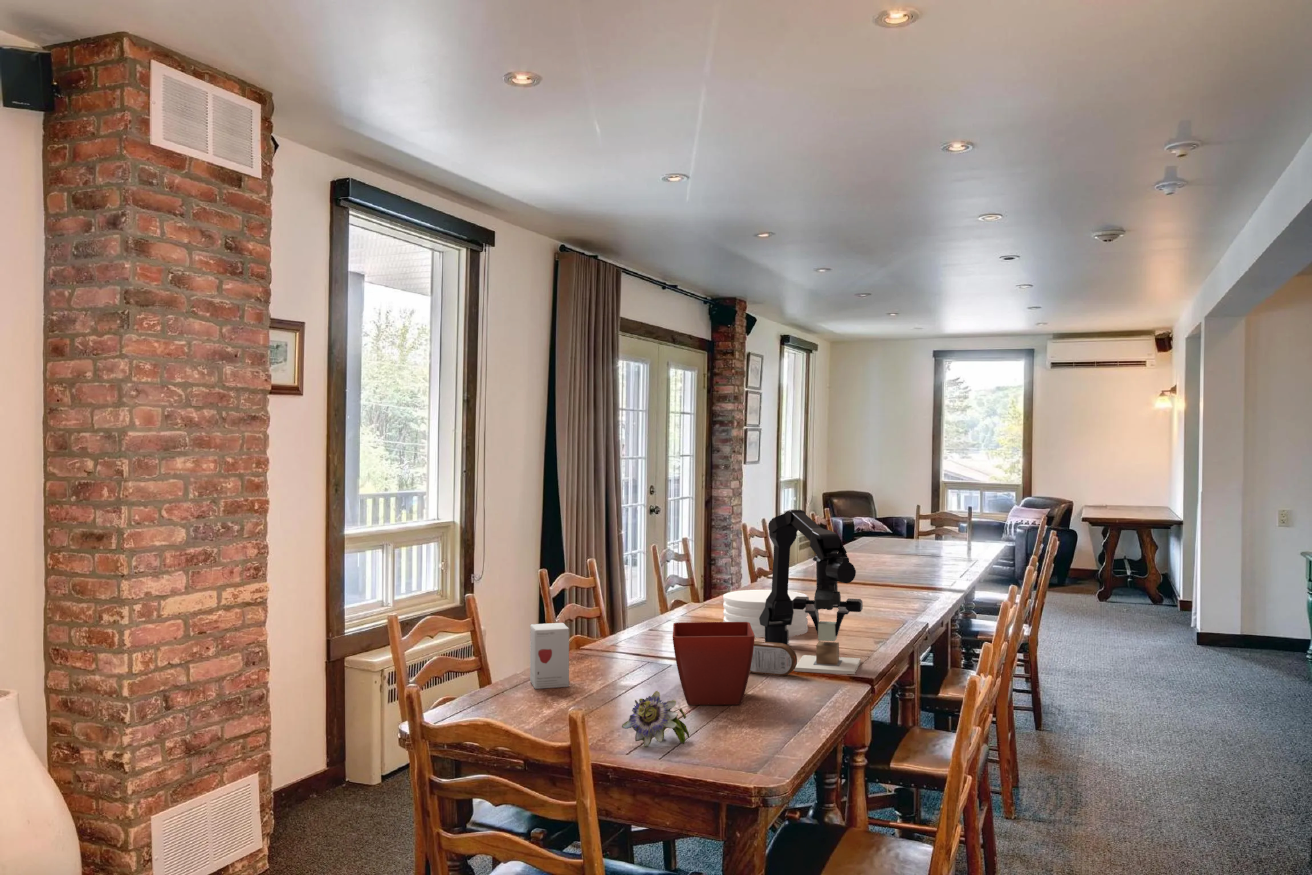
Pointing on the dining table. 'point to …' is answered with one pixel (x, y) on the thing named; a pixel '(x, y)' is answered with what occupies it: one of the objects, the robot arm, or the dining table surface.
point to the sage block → (826, 631)
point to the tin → (773, 659)
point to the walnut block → (827, 653)
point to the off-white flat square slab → (828, 665)
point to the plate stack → (759, 610)
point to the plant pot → (713, 660)
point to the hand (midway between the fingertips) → (827, 635)
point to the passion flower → (655, 720)
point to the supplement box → (549, 655)
